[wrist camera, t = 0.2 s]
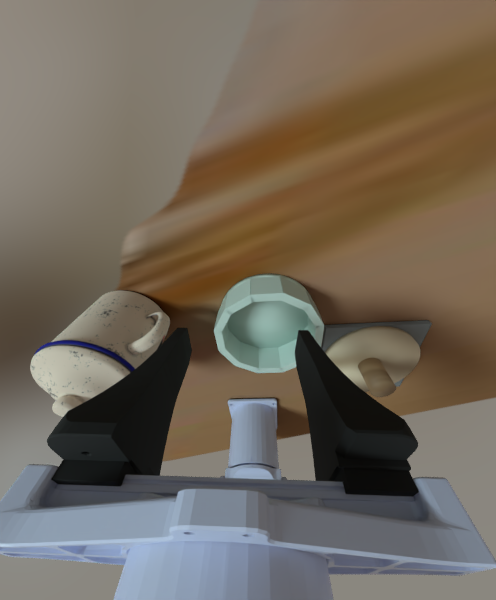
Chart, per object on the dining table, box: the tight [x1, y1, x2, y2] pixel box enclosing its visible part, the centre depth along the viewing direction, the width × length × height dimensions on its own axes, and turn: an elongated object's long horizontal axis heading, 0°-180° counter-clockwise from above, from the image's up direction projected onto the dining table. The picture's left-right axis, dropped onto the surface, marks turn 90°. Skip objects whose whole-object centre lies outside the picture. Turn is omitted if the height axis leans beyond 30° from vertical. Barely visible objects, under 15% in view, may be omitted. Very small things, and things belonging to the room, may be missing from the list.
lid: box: [325, 326, 420, 397], centre depth 27 cm, size 12×12×4 cm
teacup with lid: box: [30, 290, 170, 417], centre depth 21 cm, size 12×9×12 cm
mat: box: [321, 320, 432, 386], centre depth 29 cm, size 12×12×1 cm
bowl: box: [214, 273, 324, 373], centre depth 24 cm, size 11×11×4 cm
